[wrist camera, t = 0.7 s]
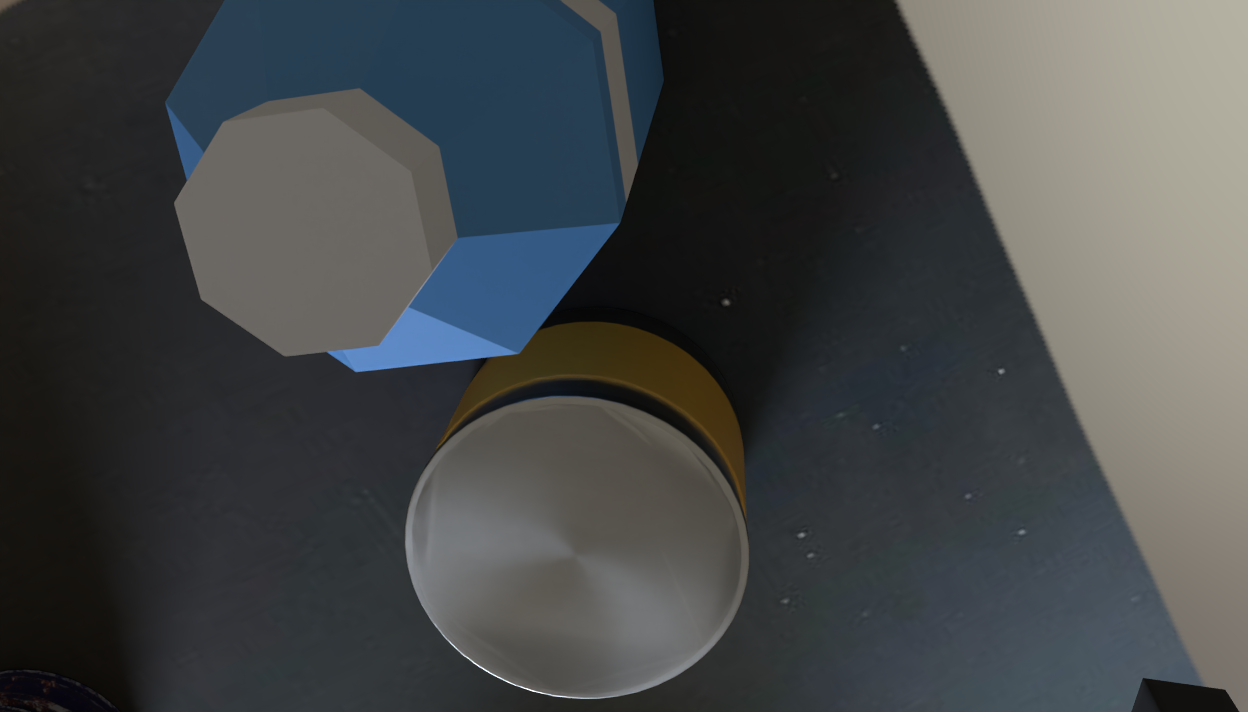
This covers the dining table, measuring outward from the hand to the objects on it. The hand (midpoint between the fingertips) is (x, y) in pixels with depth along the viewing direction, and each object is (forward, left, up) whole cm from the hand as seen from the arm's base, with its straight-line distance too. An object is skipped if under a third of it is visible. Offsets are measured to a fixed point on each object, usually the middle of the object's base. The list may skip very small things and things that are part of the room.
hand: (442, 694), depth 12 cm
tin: (+12, +3, -33) cm, 36 cm away
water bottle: (-1, -5, -33) cm, 34 cm away
